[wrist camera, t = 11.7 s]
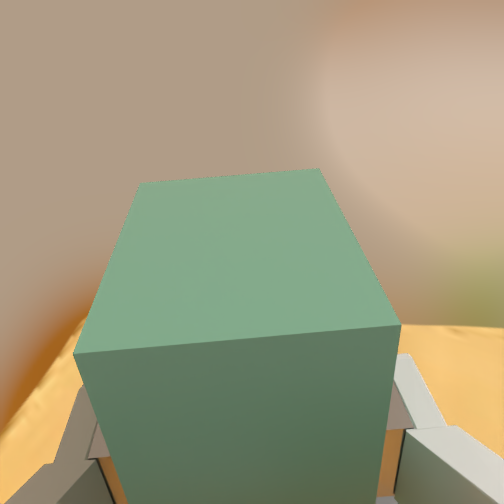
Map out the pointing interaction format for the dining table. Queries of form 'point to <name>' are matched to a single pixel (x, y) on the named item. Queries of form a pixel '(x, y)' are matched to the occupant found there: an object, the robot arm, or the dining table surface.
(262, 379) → the board block
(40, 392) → the dining table surface
